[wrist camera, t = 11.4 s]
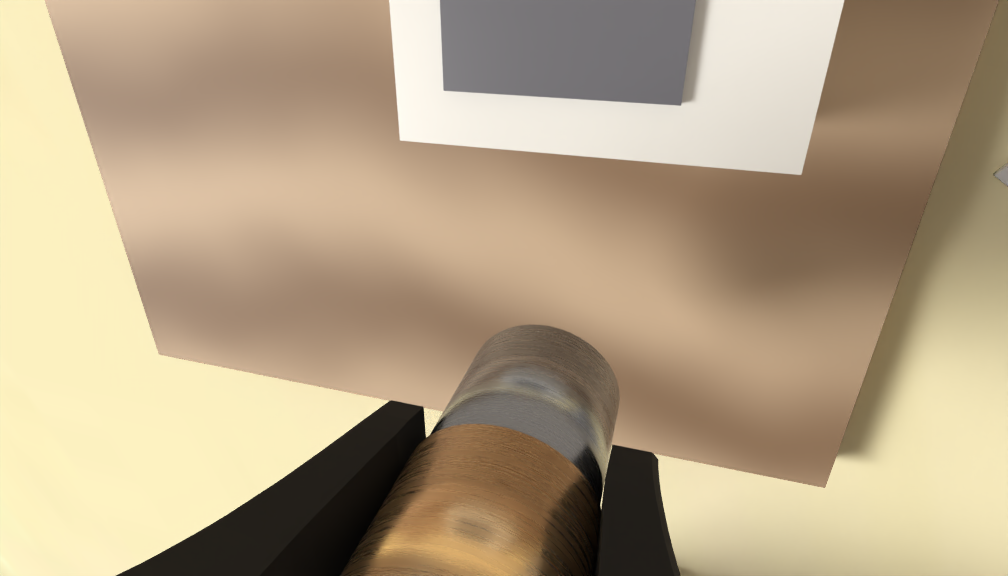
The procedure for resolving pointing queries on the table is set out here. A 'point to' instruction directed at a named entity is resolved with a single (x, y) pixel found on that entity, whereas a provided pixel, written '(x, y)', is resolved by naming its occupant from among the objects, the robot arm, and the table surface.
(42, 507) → the table surface
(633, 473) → the robot arm
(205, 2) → the subfloor
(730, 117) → the white open box
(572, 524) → the copper and grey cylinder
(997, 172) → the grey bent flat piece
